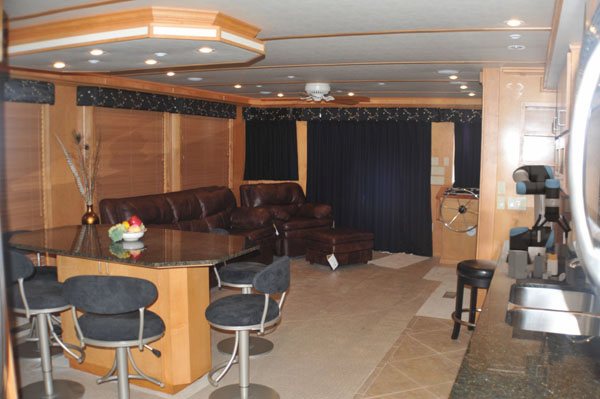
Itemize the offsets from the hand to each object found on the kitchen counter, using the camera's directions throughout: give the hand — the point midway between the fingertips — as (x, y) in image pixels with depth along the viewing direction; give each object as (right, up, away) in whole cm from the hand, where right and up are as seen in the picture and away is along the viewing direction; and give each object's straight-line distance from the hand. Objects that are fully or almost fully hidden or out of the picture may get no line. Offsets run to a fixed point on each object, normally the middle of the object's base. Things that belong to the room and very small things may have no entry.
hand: (551, 242), depth 307 cm
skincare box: (-23, -20, -8) cm, 31 cm away
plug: (+1, -19, +1) cm, 19 cm away
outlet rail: (-7, -19, -9) cm, 23 cm away
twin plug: (-10, -19, -7) cm, 23 cm away
